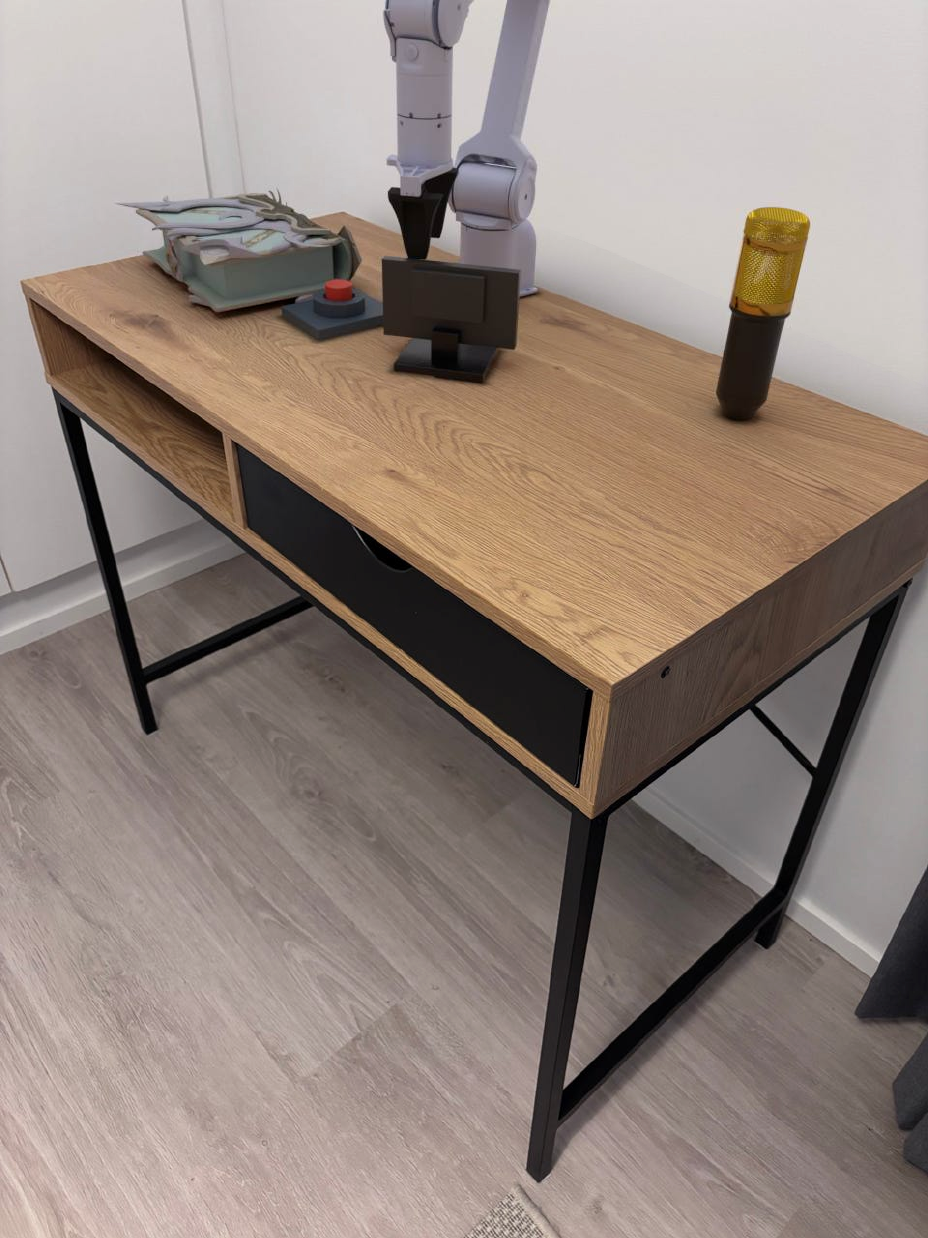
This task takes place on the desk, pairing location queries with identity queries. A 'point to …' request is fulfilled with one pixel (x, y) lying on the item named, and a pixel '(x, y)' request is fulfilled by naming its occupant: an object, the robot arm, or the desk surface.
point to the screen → (451, 300)
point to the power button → (338, 290)
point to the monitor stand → (446, 357)
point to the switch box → (335, 314)
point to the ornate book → (247, 249)
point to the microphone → (760, 306)
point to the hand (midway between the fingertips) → (424, 247)
